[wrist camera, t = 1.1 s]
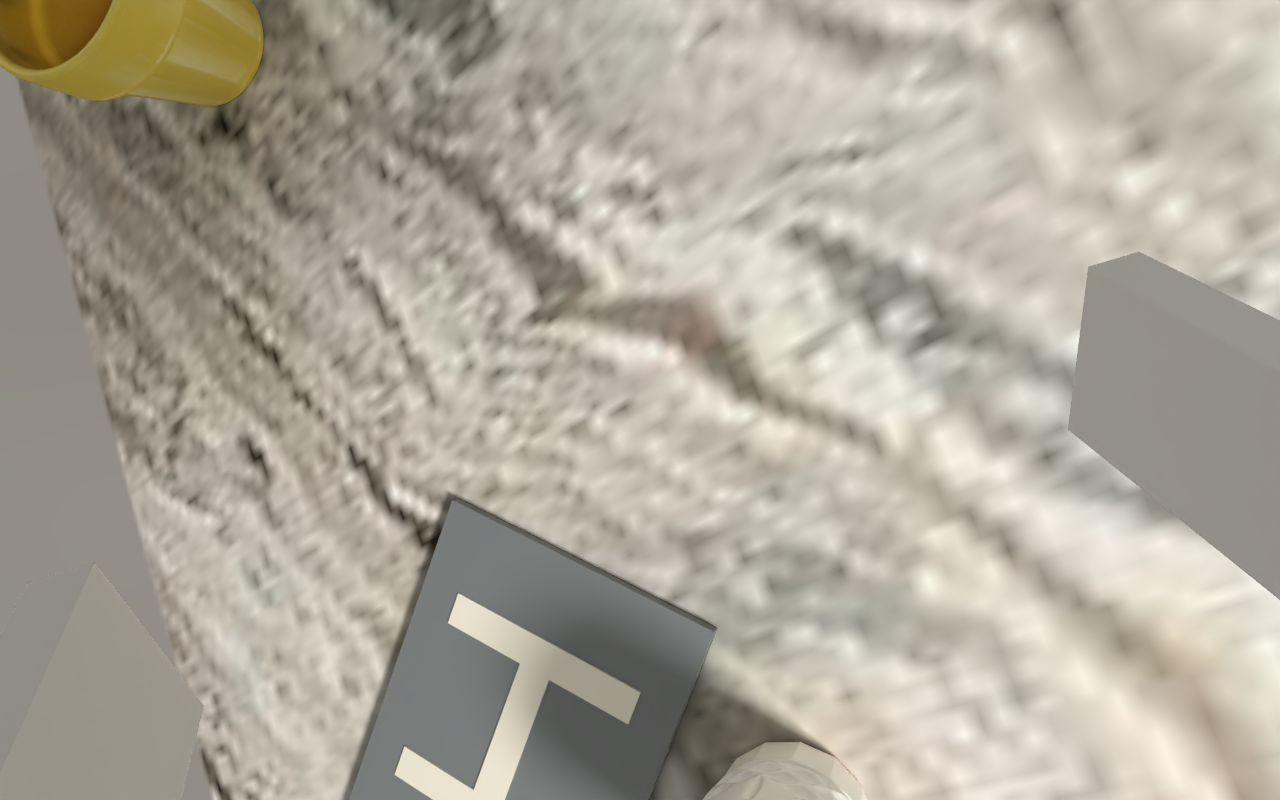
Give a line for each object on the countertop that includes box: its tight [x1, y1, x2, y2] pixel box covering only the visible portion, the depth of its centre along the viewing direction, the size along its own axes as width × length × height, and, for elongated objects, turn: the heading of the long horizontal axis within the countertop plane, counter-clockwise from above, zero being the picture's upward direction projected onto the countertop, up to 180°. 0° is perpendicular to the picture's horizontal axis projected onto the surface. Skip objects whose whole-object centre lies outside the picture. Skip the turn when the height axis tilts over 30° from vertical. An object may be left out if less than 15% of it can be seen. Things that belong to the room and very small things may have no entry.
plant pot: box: [0, 0, 264, 106], centre depth 41 cm, size 10×10×10 cm
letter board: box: [349, 499, 717, 800], centre depth 40 cm, size 18×14×1 cm
